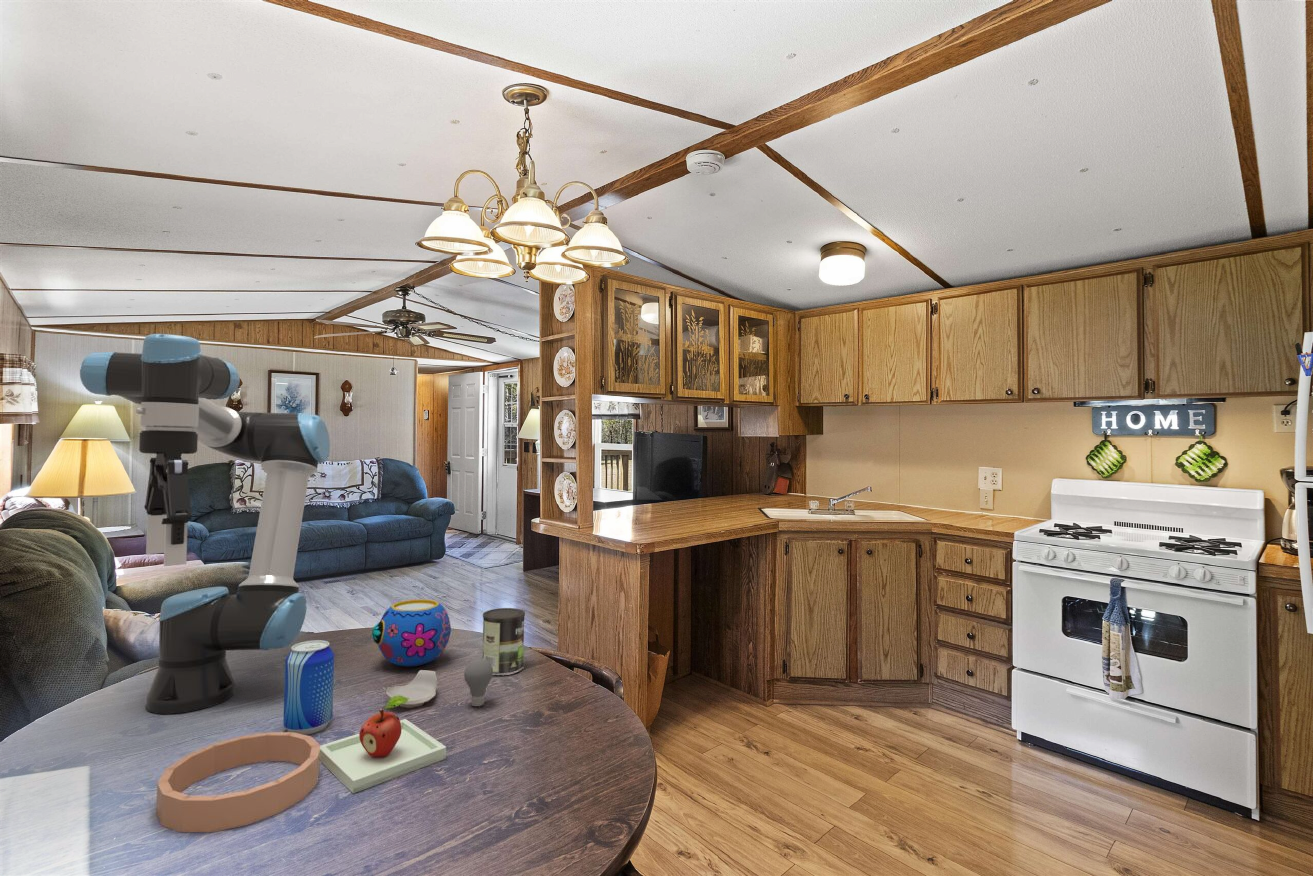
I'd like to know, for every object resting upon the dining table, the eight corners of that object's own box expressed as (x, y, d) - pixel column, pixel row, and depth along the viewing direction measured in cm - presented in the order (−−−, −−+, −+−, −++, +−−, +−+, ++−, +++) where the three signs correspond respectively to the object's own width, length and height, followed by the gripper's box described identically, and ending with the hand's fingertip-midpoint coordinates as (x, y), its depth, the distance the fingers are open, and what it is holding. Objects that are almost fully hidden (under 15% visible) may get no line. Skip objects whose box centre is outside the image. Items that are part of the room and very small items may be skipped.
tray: (317, 758, 110) (317, 746, 110) (405, 729, 122) (405, 719, 122) (353, 793, 99) (353, 781, 99) (446, 758, 111) (446, 747, 111)
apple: (365, 768, 105) (367, 709, 105) (354, 753, 110) (355, 696, 110) (411, 755, 110) (413, 698, 110) (398, 740, 115) (400, 686, 115)
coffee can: (527, 662, 160) (529, 608, 161) (518, 677, 150) (519, 619, 150) (488, 661, 161) (489, 607, 161) (475, 676, 150) (477, 617, 150)
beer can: (310, 739, 117) (313, 654, 117) (272, 734, 118) (275, 650, 119) (341, 720, 125) (344, 640, 125) (305, 715, 127) (308, 637, 127)
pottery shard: (380, 715, 128) (381, 690, 128) (388, 694, 139) (389, 672, 139) (433, 710, 131) (434, 686, 131) (437, 690, 142) (438, 668, 142)
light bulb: (476, 714, 129) (477, 665, 129) (457, 707, 132) (458, 660, 133) (498, 704, 134) (499, 658, 134) (478, 697, 138) (480, 652, 138)
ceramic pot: (388, 652, 166) (389, 596, 166) (456, 651, 168) (457, 596, 168) (364, 676, 148) (366, 613, 149) (441, 675, 150) (442, 613, 150)
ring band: (146, 790, 99) (147, 762, 99) (294, 745, 114) (294, 721, 114) (173, 852, 84) (174, 819, 84) (338, 791, 100) (339, 763, 100)
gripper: (126, 428, 107) (122, 551, 107) (156, 428, 91) (152, 573, 91) (179, 430, 113) (176, 546, 113) (217, 430, 96) (213, 567, 96)
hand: (165, 559), depth 102 cm, fingers open, 13 cm apart
